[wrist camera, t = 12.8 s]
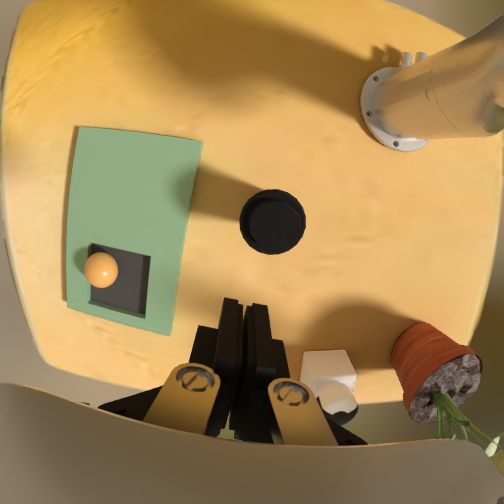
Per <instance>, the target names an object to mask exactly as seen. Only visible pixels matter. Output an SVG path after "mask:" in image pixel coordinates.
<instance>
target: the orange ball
mask: <svg viewBox="0 0 504 504" xmlns="http://www.w3.org/2000/svg"><path fill="white" fill-rule="evenodd" d="M84 271H85V276H86V278H87V280H88V281H89V283H90V284H92V285H93V286H95V287H98V288H105V287H108V286H110V285H111V284H113V283H114V281H115V280H116V278H117V275H118V266H117V263H116V261H115V259H114V258H113V257H112V256H111V255H109V254H107V253H104V252H98V253H95V254H93V255H91V256H90V257H89V258H88V260H87V261H86V264H85V269H84Z"/></svg>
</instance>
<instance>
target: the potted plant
mask: <svg viewBox="0 0 504 504" xmlns="http://www.w3.org/2000/svg"><path fill="white" fill-rule="evenodd" d="M391 362H392V364H393V366H394V369H395V371H396V373H397V376H398V378H399V381H400V383H401V386H402V388H403V391H404V393H403V404H404V406H405V407H406V409H407V411H408V413H409V415H410V416H411V418H412V420H413V421H415V422H418V423H430V422H433V421H437V420H438V431H437V435H436V439H439V431H440V429H439V428H440V419H441V420H442V425H443V427H442V439H445V426H444V419H443V417H445V416H446V417H447V421H448V425H449V439H454V438H455V437H456V435H455V434H454V436H453V438H452V432H451V427H452V426H451V421H450V419H452V420H454V421H456V422H458V424H459V426H460V428H461V430H462V432H463V434H464V436H465V439H466V441H467V442H468V438H467V435H466V431H465V429H466V430H467V431H468V432H469V433H471V434H472V435H473V436H474V437H475V438H477V439H478V440H479V441H480V442H481V443H483V442H482V441H481V440H480V439H479V438H478V437H477V436H476V435H475V434H473V433H472V432H471V431H470V430H469V429H468V427H467V426H469V425H470V426H471V427H472V428H474V429H475V430H476V431H478V432H479V433H480V434H482V435H483V436H485V437H486V438H488V439H489V440H491V441H492V442H491V443H490V444H489V446H488V447H487V446H486V445H485V444H484V443H483V444H484V445H485V446H486V447H487V448H486V450H485V453H486V454H487V455H488V456H489V457H490V459H491V460H492V461H493V463H494V464H495V466H496V467H497V469H498V470H499V472H500V473H501V475H502V476H503V474H504V448H503V449H502V450H500V451H499V452H497V453H495V450H496V448H497V446H499V445H498V441H499V439H500V437H504V433H502V434H500V435H499V436H497V437H496V438H495V439H494V440H492V439H490V438H489V437H488V436H487V435H485V434H484V433H483V432H482V431H480V430H479V429H478V428H477V427H476V426H474V425H473V424H472V423H471V422H470V421H469V420H468V419H467V418H466V417H465V416H464V415H463V414H462V413H461V412H460V411H459V410H458V409H457V408H458V407H459V406H460V405H461V404H462V403H463V402H464V401H465V400H466V399H467V398H468V397H469V396H471V395H472V394H473V393H474V392H475V391H476V390H477V387H478V385H479V383H480V377H481V373H482V368H483V367H482V361H481V359H480V358H479V357H478V356H477V355H476V354H475V353H474V352H473V351H472V350H471V349H470V348H469V347H468V346H464V345H459V344H458V343H456V342H455V341H453V340H452V339H451V338H449V337H448V336H446V335H445V334H443V333H442V332H441V331H439V330H438V329H436V328H435V327H433V326H432V325H431V324H428V323H417V324H415V325H414V326H412V327H411V328H409V329H408V330H406V331H405V332H404V333H403V334H402V335H401V337H400V338H399V339H398V341H397V343H396V344H395V346H394V348H393V351H392V354H391ZM451 413H452V414H453V416H454V418H453V416H452V415H451ZM449 414H450V415H449ZM461 419H463V420H464V421H462V420H461ZM464 427H465V428H464ZM460 440H462V441H463V438H462V439H460ZM499 447H500V446H499ZM494 453H495V454H494Z"/></svg>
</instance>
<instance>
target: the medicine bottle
mask: <svg viewBox="0 0 504 504" xmlns="http://www.w3.org/2000/svg"><path fill="white" fill-rule="evenodd" d="M356 379H357V373H356V371H355V369H354V367H353V365H352V363H351V360H350V358H349V356H348V354H347V352H346V350H344V349H343V350H325V351H305V352H304V354H303V361H302V368H301V374H300V382H302V383H304V384H306V385H307V386H308V387H309V388H310V389H311V390H312V392H313V394H314V396H315V398H316V400H317V402H318V404H319V406H320V408H321V410H322V412H323V414H324V416H326V417H327V418H329V419H330V420H332V421H334V422H335V423H337V424H338V425H340V426H341V425H344V424H346V423H347V422H349V421H350V420H351V419H353V417H354V416H355V415H356V413H357V411H358V404H357V402H356V399H355V397H354V395H353V389H354V386H355V383H356Z"/></svg>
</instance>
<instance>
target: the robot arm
mask: <svg viewBox="0 0 504 504" xmlns="http://www.w3.org/2000/svg"><path fill="white" fill-rule="evenodd" d="M411 59H412V55H411V54H410V53H407V52H404V53H403V54H402V65H400V66H399V67H397V68H396V67H386V68H382V69H379V70H377V71H376V72H374V73H373V74H371V75H370V76H369V77H368V78H367V80H366V81H365V82H364V85H363V87H362V89H361V94H360V108H361V113H362V116H363V119H364V122H365V124H366V125H367V127H368V129H369V131H370V132H371V133H372V135H373V136H374V137H375V138H376V139H377V140H378V141H379V142H380V143H382V144H383V145H385V146H386V147H388V148H390V149H393V150H396V151H400V152H410V151H416V150H418V149H421V148H422V147H424V146H425V145H426V144H427V143H428V142H429V141H430V140H431V139H447V138H477V137H489V136H492V135H495V134H497V133H499V132H500V131H501V130H503V129H504V14H503V15H501V16H500V17H498V18H497V19H496V20H494V21H493V22H492V23H490V24H489V25H488V26H486V27H485V28H483V29H482V30H480V31H479V32H477V33H476V34H474V35H472V36H471V37H469V38H467V39H465V40H463V41H461V42H459V43H457V44H455V45H453V46H450V47H448V48H446V49H444V50H442V51H440V52H438V53H436V54H433V55H431V56H429V57H428V55H427V54H425V53H422V52H417V53H416V59H415V64H413V65H411V66H410V64H411ZM374 80H375V81H374ZM367 113H368V114H369V116H368V115H367ZM393 143H394V145H393ZM229 411H230V417H229V430H234V439H237V440H231V439H223V438H217V436H218V435H219V434H220V430H221V429H224V428H225V425H226V422H227V418H228V415H229ZM238 440H242V441H238ZM0 504H504V478H503V476H502V475H501V473H500V472H499V470H498V469H497V467H496V466H495V464H494V463H493V461H492V460H491V459H490V457H489V456H488V455H487V454H486V453H485V451H484V450H482V448H480V447H479V446H478V445H476V444H473V443H470V442H467V441H462V440H456V439H428V440H419V441H408V442H398V443H388V444H372V445H368V444H367V443H366V442H365V441H364V440H362V439H361V438H359V437H358V436H356V435H354V434H352V433H351V432H350V431H348V430H346V429H345V428H343V427H341V426H340V425H338V424H337V423H335V422H334V421H332V420H330V419H329V418H327V417H326V416H324V414H323V412H322V410H321V408H320V406H319V404H318V402H317V400H316V398H315V396H314V394H313V392H312V390H311V389H310V388H309V387H308V386H307V385H306V384H304V383H302V382H300V381H298V380H295V379H290V374H289V369H288V364H287V359H286V354H285V348H284V343H283V341H282V340H276V339H272V335H271V328H270V321H269V314H268V307H267V305H261V304H256V303H253V304H252V306H247V307H246V311H245V315H244V319H243V305H242V304H238V300H235V299H230V298H225V297H224V301H223V306H222V311H221V316H220V321H219V326H218V329H215V328H210V327H205V326H200V325H199V326H198V329H197V333H196V336H195V340H194V344H193V348H192V352H191V355H190V359H189V363H185V364H181V365H179V366H177V367H175V368H174V369H173V370H172V372H171V373H170V375H169V377H168V378H167V380H166V382H165V383H164V385H163V386H160V387H157V388H154V389H151V390H148V391H145V392H141V393H138V394H135V395H132V396H129V397H125V398H122V399H119V400H115V401H112V402H108V403H105V404H103V405H101V406H99V407H98V408H95V407H92V406H90V404H89V403H83V402H78V401H75V400H72V399H69V398H67V397H64V396H61V395H58V394H56V393H52V392H50V391H46V390H43V389H40V388H37V387H33V386H29V385H25V384H20V383H13V382H5V381H0Z"/></svg>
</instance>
